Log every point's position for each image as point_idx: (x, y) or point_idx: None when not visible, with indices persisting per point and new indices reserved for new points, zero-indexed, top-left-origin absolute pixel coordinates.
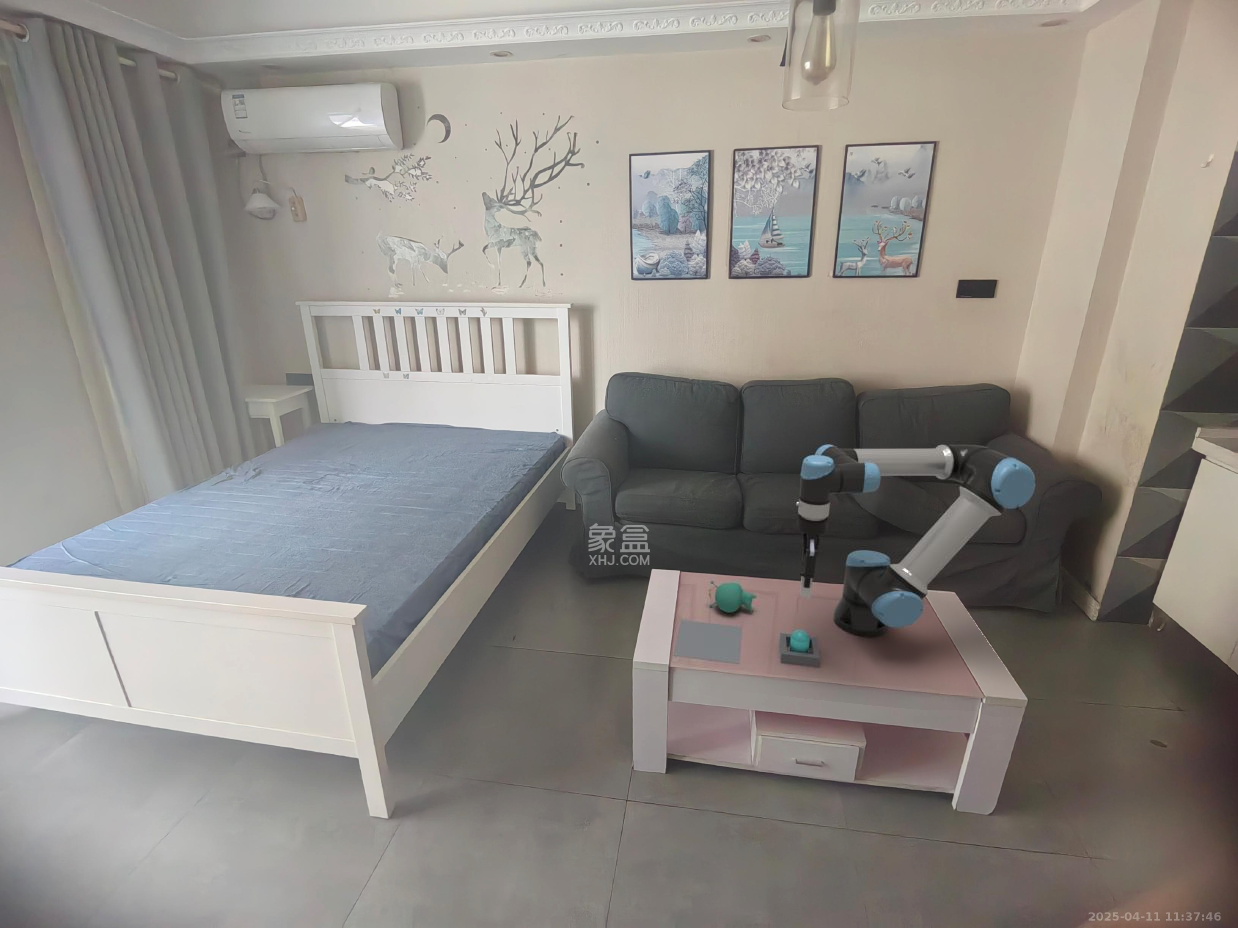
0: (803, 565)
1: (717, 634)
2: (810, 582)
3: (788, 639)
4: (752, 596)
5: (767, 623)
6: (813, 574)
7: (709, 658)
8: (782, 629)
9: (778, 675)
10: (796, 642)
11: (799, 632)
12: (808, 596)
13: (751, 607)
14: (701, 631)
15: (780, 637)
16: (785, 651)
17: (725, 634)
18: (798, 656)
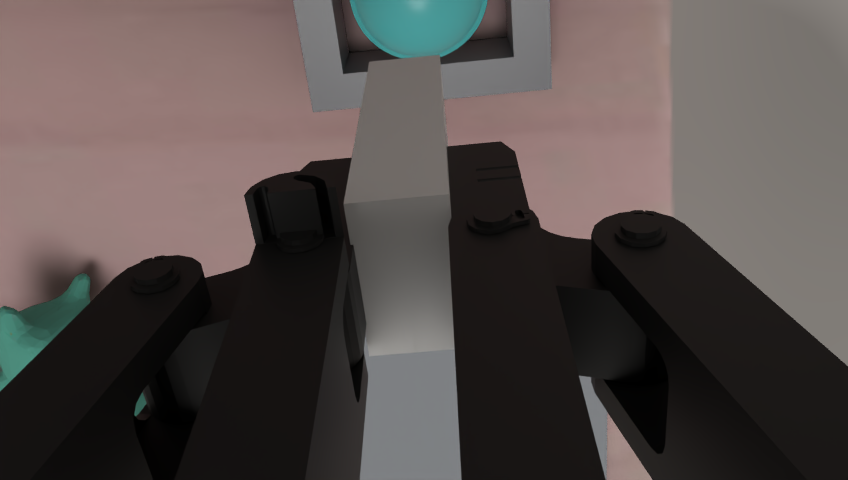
0: (362, 442)
1: (381, 394)
2: (447, 163)
3: (342, 49)
4: (28, 334)
5: (149, 172)
6: (729, 273)
7: (594, 397)
8: (174, 80)
9: (665, 69)
10: (483, 14)
11: (432, 14)
12: (442, 86)
13: (77, 293)
14: (381, 457)
15: (360, 105)
16: (519, 65)
17: (366, 362)
18: None
